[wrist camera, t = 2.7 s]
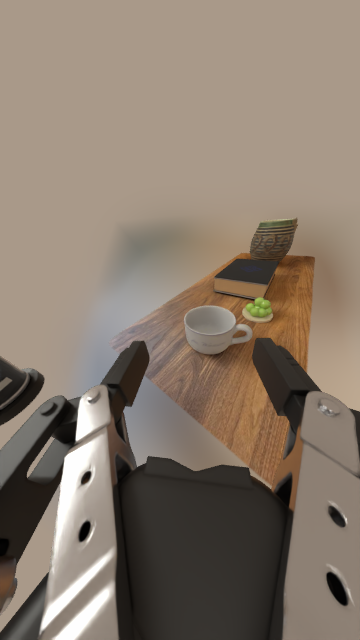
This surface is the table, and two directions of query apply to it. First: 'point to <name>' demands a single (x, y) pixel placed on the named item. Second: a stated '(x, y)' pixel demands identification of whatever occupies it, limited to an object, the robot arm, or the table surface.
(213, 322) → the teacup
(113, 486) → the robot arm
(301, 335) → the table surface
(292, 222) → the pottery
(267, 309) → the grapes
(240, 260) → the book
